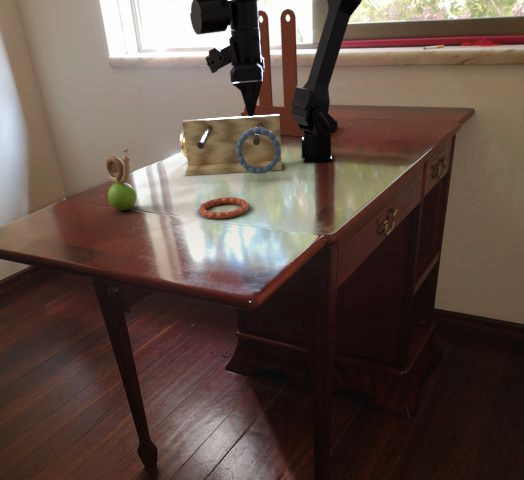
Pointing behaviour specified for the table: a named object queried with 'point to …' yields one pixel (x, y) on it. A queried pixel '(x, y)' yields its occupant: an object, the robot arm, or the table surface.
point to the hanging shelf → (289, 73)
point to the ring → (183, 144)
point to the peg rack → (229, 144)
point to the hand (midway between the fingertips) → (251, 111)
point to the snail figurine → (120, 183)
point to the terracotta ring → (223, 214)
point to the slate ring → (269, 135)
